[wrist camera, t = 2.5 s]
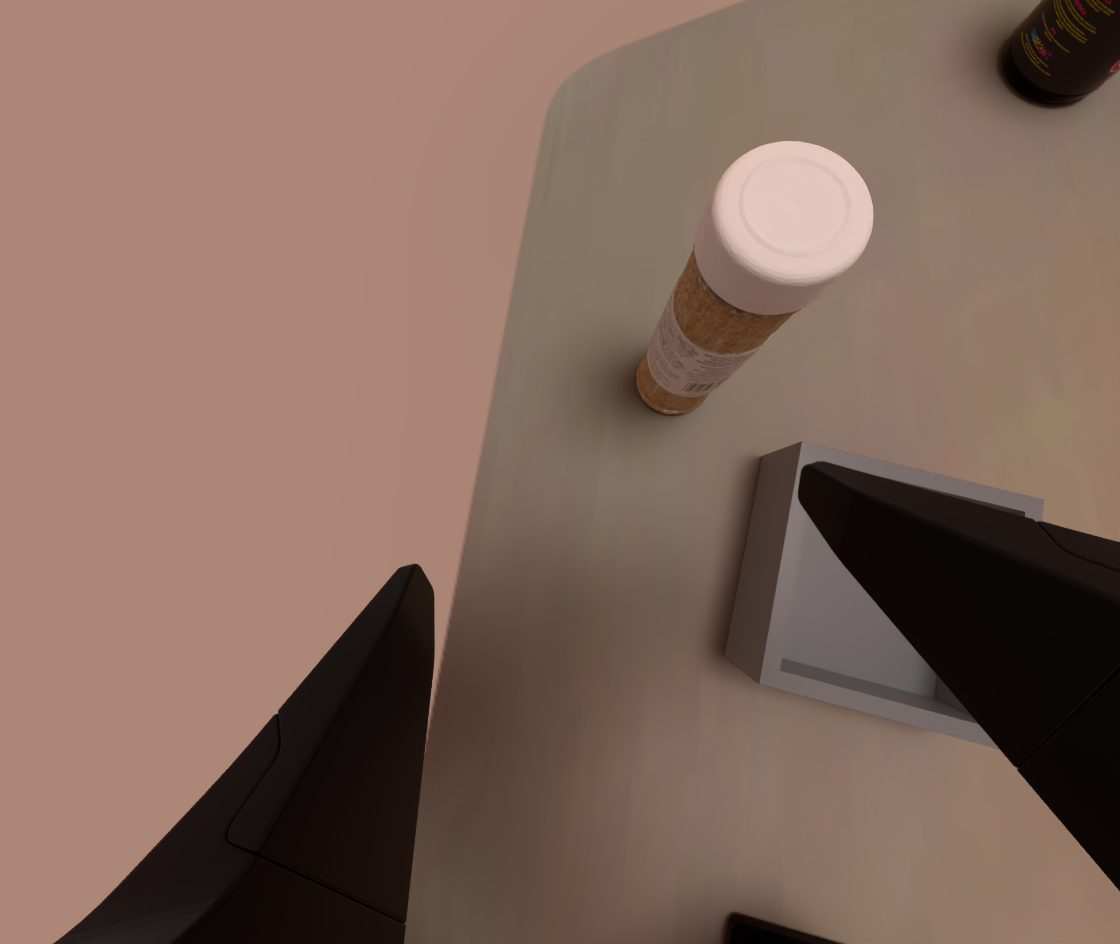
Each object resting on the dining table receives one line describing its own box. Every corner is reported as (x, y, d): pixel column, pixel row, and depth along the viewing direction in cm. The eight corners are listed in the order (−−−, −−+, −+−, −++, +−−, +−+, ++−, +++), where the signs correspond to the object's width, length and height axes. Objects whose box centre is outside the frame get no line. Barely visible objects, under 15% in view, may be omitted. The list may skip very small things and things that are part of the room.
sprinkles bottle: (707, 346, 25) (875, 132, 11) (709, 418, 24) (889, 281, 11) (633, 345, 25) (712, 130, 11) (632, 416, 24) (717, 277, 11)
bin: (961, 504, 23) (1044, 499, 19) (937, 713, 21) (1021, 755, 18) (762, 455, 24) (802, 441, 20) (724, 656, 22) (759, 683, 18)
